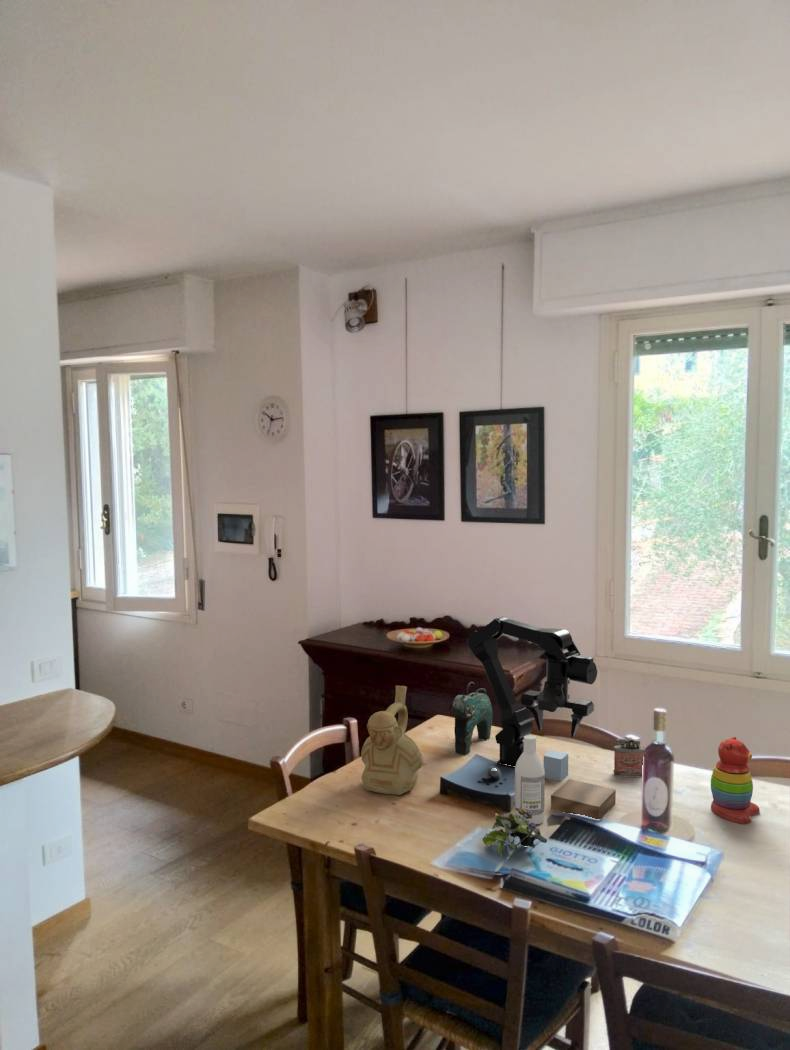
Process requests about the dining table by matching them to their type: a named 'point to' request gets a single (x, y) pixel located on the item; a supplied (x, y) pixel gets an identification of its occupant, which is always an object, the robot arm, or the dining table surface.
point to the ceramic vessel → (390, 751)
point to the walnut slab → (583, 799)
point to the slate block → (556, 765)
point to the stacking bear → (733, 783)
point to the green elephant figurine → (471, 719)
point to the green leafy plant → (513, 831)
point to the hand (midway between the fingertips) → (556, 734)
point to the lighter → (628, 758)
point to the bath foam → (530, 782)
